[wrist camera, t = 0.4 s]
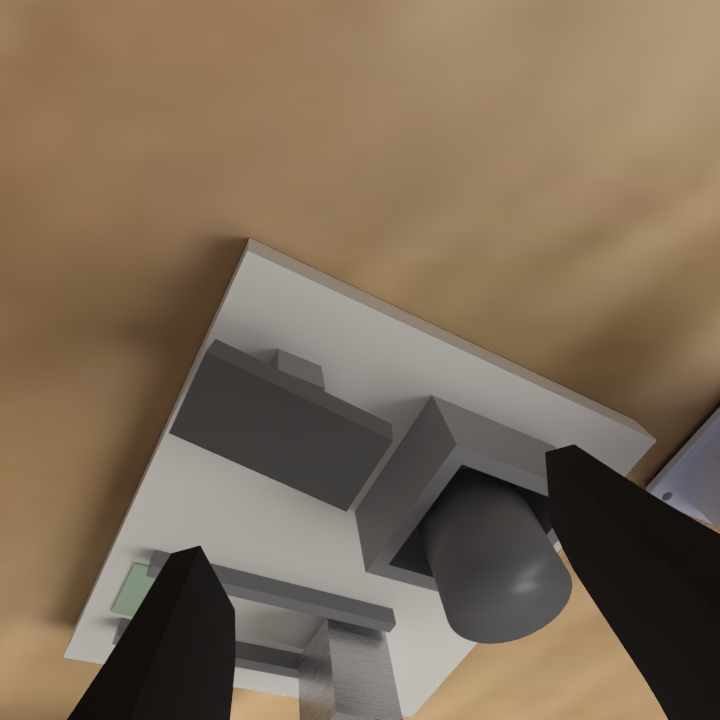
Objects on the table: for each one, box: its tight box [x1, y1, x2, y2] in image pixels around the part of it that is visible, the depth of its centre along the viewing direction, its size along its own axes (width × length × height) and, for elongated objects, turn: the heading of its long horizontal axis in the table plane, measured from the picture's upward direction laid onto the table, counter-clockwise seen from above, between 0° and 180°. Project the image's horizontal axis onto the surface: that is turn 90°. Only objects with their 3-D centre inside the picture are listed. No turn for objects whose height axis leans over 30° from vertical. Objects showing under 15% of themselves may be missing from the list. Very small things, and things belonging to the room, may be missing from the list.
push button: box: [417, 467, 572, 644], centre depth 18 cm, size 4×4×4 cm
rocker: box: [169, 339, 393, 512], centre depth 16 cm, size 6×3×1 cm, turn 61°
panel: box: [63, 238, 657, 717], centre depth 22 cm, size 18×20×4 cm
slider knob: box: [298, 618, 403, 720], centre depth 22 cm, size 3×3×4 cm
